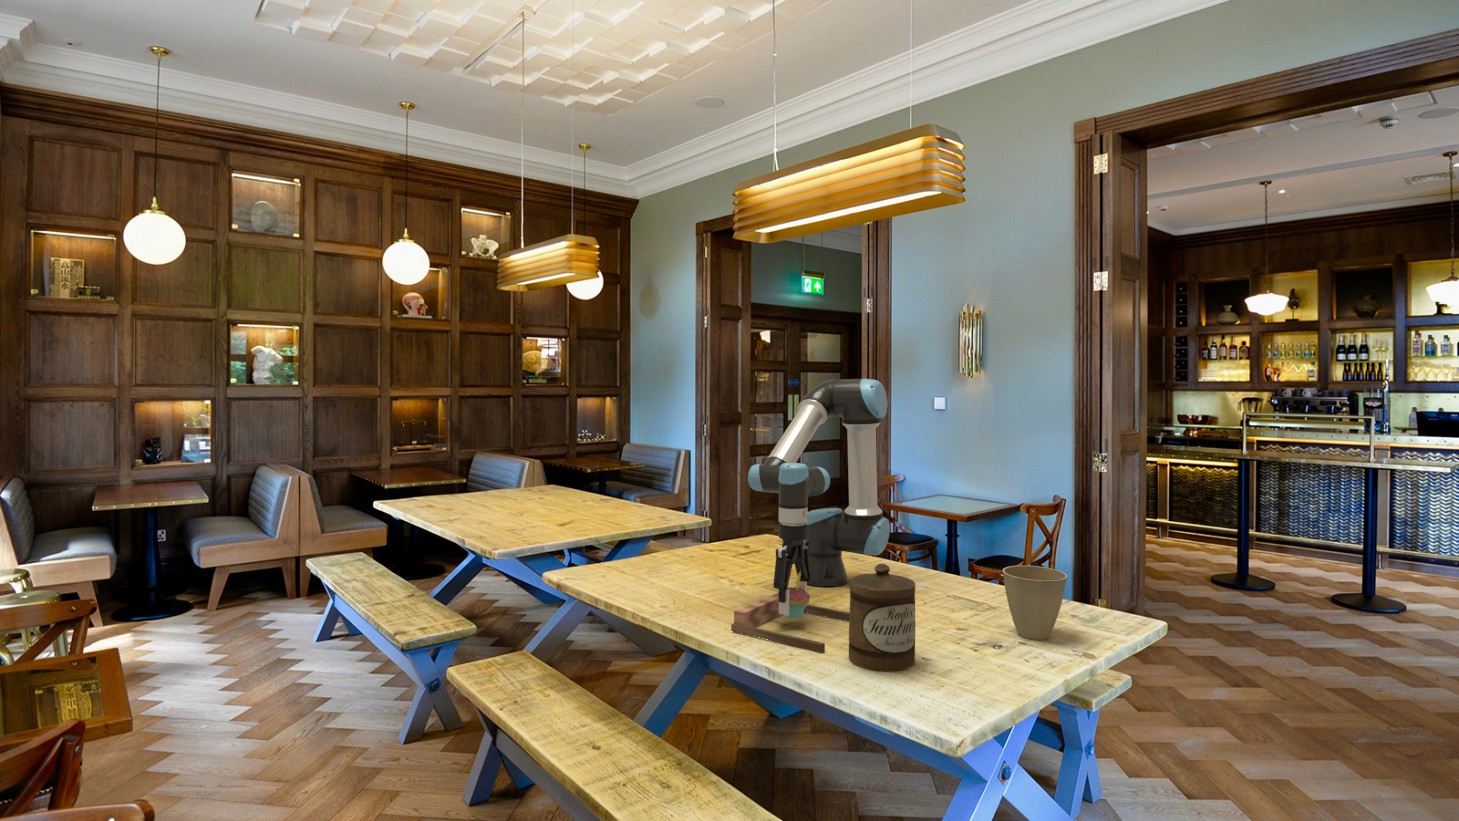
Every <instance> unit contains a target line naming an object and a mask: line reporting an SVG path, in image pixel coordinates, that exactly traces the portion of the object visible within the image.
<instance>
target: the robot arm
mask: <svg viewBox="0 0 1459 821" xmlns="http://www.w3.org/2000/svg"><path fill="white" fill-rule="evenodd" d="M888 403H889V402H888V396H887V391H886V390H885V387H884V386H883V384H882V382H880V381H879V380H876V379H871V378H870V379H869V378H853V379H852V378H850V379H848V378H847V379H841V378H840V379H839V378H834V379H829V380H825V381H823V382H821V383H819V384H817V385H816V386H815V387H813V388H812V389H811V390H809V391H808V392H807V393H806V394H805V395H804V396H803V398H802V400H800V402H799V403H798V406H797V413H796V414H795V416H794V417H793V419H792V420H791V422H790V423H789V425H787V426H788V427H787V428H786V429H785V431H784V432H783V434H782V436H781V437H780V439H779V440H778V442H777V443H776V445H775V446H774V448H773V449H772V451H771V452H770V454H769V455H768V456H767V459H766V460H765V461H764V463H763V464H762V463H759V464H753V465H751V467H750V468H749V471H748V475H747V482H748V484H749V487H750V489H752V490H753V491H755V492H756V491H758V492H763V493H771V494H773V493H774V494H776V493H777V494H778V522H779V524H778V538H779V539H781V540H782V546H781V548H776V549H775V563H774V564H775V566H774V573H773V575H774V576H773V588H774V589H776V590H778V592H779V614H782V615H781V616H785V615H787V616H788V615H789V589H787V588H789V584H790V578H791V573H792V569H793V566H794V567H795V571H796V575H797V577H798V573H801V576H800V582H799V588H800V589H803V590H805V591H806V592H807V591H808V590H807V586H808V585H807V584H810V585H809V586H811V585H814V586H813V587H818V586H834V587H839V586H838V585H841V586H844V585H846V584H847V583H848V575H847V574H848V573H847V571H846V567H845V564H844V561H843V556H842V555H843V554H842V553H843V552H846V553H851V554H852V553H853V554H859V555H860V554H861V555H863V556H868V555H869V556H879V555H880V554H882V553H883V552H884V550H885V548H886V547H887V545H888V542H889V538H890V532H891V524H890V520H889V519H888V518H886V517H884V516H883V510H882V508H880V506H878V482H877V481H878V478H877V477H878V474H877V466H878V465H877V430H876V429H877V427H879V426H880V424H881V422H882V421H881V419H883V418H885V417H886V415H887V413H888V410H887V409H888V406H889V405H888ZM833 417H837V418H841V424H842V426H844V427H845V428H846V431H847V434H846V435H847V468H848V470H847V471H848V476H847V477H848V506H847V507H846V508H845V509H844V511H843V510H842V508H839V507H829V508H828V507H826V508H820V509H819V508H818V509H813V510H809V511H808V507H809V504H808V503H809V500H808V499H809V497H813V496H814V497H815V496H819V495H821V494H823V493H825V492H826V491H827V490H828V489H829V488H830V485H831V478H830V474H829V472H828V471H827V470H826V469H825V468H823V467H821V466H811V467H808V465H807V464H805V463H799V462H798V461H799V459H800V457H801V455H802V454H803V452H804V450H805V449H806V447H807V445H808V444H809V442H810V441H811V439H812V438H813V437H814V434H815V432H816V431H817V429H818V428H819V427H820V426H821V425H823V424H825V423H826V421H827V419H828V418H833ZM800 570H801V572H800ZM795 582H796V585H797V580H796V581H795ZM845 583H846V584H845ZM843 584H844V585H843ZM796 585H795V586H796ZM807 593H808V592H807ZM807 605H808V603H807V604H806V606H807ZM806 606H805V607H806ZM787 616H786V617H787Z"/></svg>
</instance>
